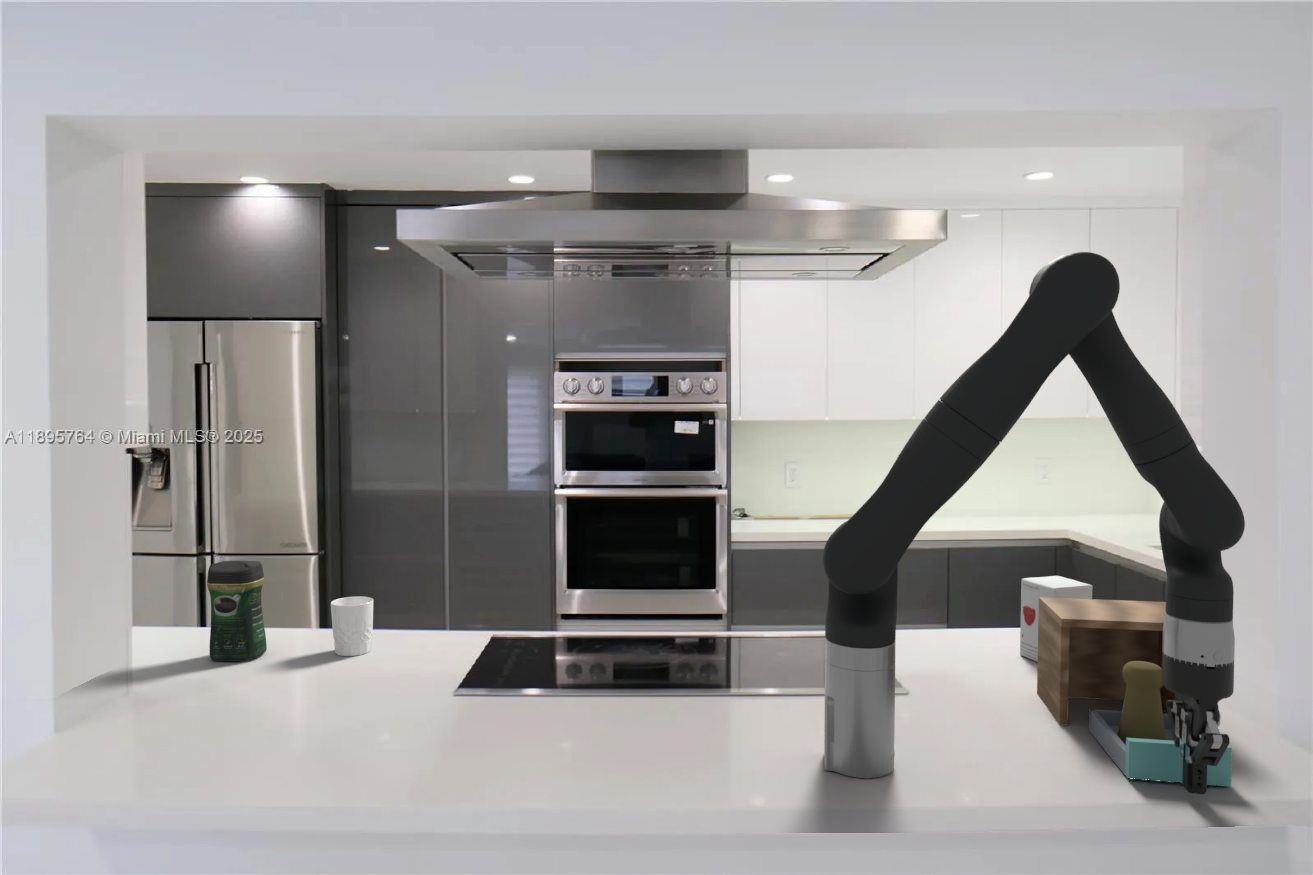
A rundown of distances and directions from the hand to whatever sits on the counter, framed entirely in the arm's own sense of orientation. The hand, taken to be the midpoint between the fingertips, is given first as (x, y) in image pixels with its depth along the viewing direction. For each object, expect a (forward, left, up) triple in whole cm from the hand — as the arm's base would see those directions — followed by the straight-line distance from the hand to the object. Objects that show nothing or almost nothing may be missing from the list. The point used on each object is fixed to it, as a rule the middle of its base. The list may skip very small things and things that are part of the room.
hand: (1194, 791), depth 108 cm
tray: (0, +13, -1) cm, 13 cm away
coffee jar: (-155, +33, -1) cm, 158 cm away
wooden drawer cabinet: (0, +31, -1) cm, 31 cm away
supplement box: (-2, +58, -2) cm, 58 cm away
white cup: (-135, +40, -2) cm, 141 cm away
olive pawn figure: (-1, +16, 0) cm, 16 cm away
